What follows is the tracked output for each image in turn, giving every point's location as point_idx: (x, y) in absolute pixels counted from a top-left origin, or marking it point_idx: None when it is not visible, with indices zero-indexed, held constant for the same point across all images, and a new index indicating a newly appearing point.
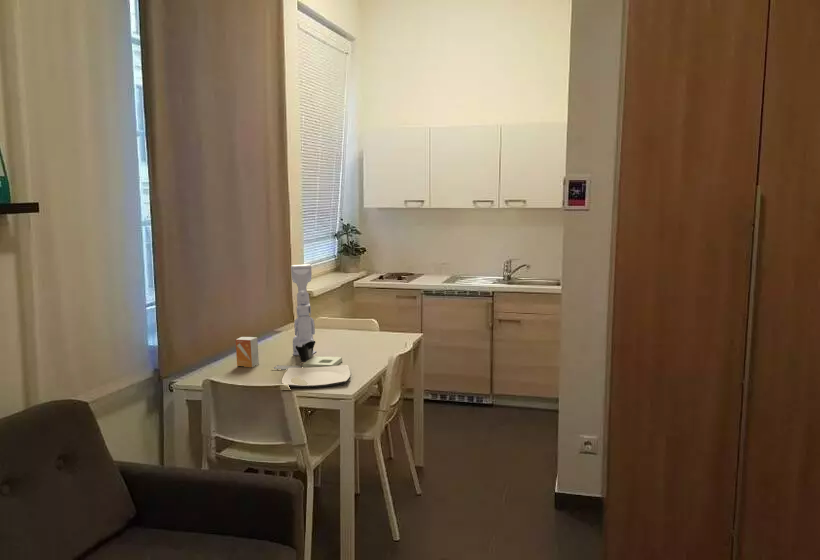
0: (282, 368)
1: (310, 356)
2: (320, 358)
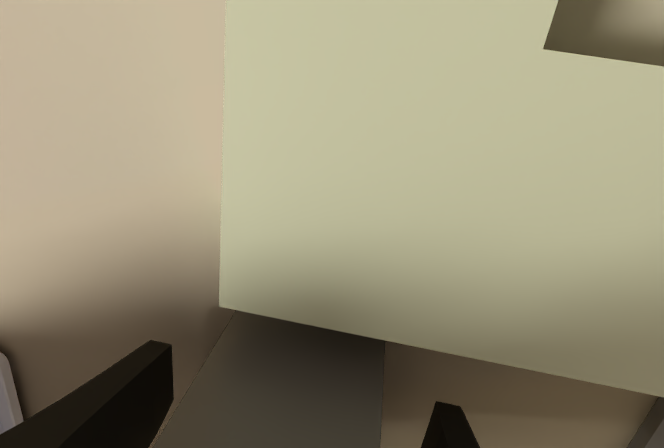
0: None
1: (286, 367)
2: (410, 131)
